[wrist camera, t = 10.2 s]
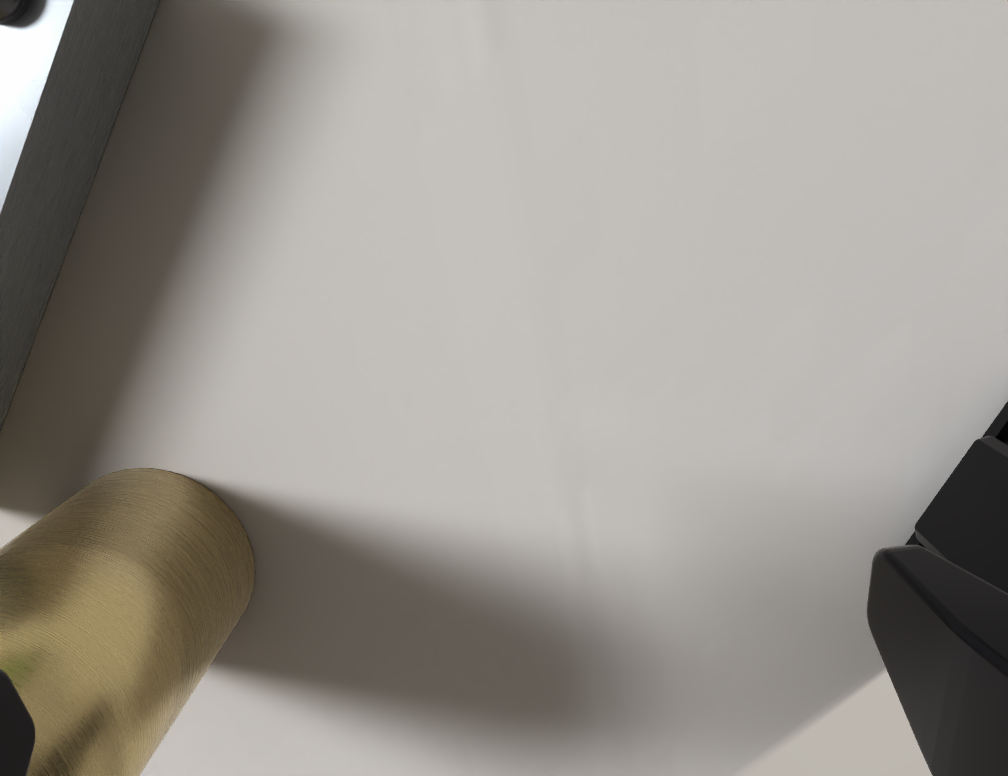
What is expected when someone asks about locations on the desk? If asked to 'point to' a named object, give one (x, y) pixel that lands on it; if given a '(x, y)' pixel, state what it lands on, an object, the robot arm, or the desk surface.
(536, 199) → the desk surface
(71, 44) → the housing
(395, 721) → the desk surface
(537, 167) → the desk surface
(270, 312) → the desk surface
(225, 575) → the cylinder
